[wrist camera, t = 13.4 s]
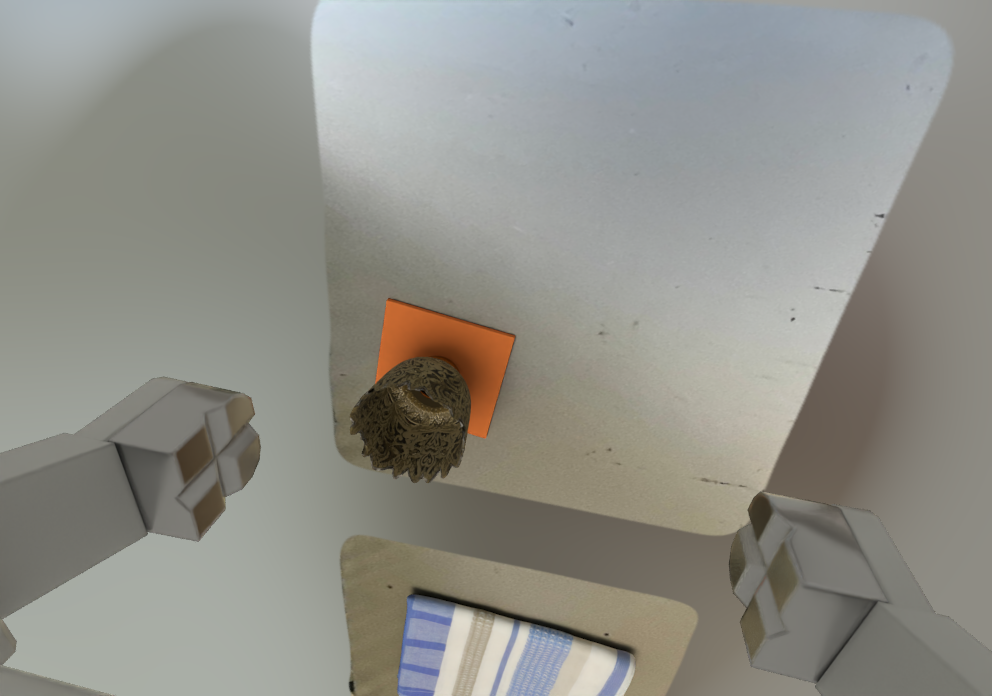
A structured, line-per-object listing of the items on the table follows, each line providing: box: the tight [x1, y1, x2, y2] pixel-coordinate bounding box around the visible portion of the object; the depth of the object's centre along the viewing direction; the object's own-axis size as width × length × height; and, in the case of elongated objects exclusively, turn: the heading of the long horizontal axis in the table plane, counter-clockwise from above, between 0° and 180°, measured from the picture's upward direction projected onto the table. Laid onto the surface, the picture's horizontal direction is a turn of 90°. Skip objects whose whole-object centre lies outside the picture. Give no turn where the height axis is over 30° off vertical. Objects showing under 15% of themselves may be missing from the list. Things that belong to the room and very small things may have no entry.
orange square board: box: [375, 298, 515, 438], centre depth 40 cm, size 10×10×1 cm
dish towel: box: [397, 595, 636, 696], centre depth 55 cm, size 17×24×3 cm
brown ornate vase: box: [350, 355, 471, 483], centre depth 36 cm, size 8×7×8 cm
